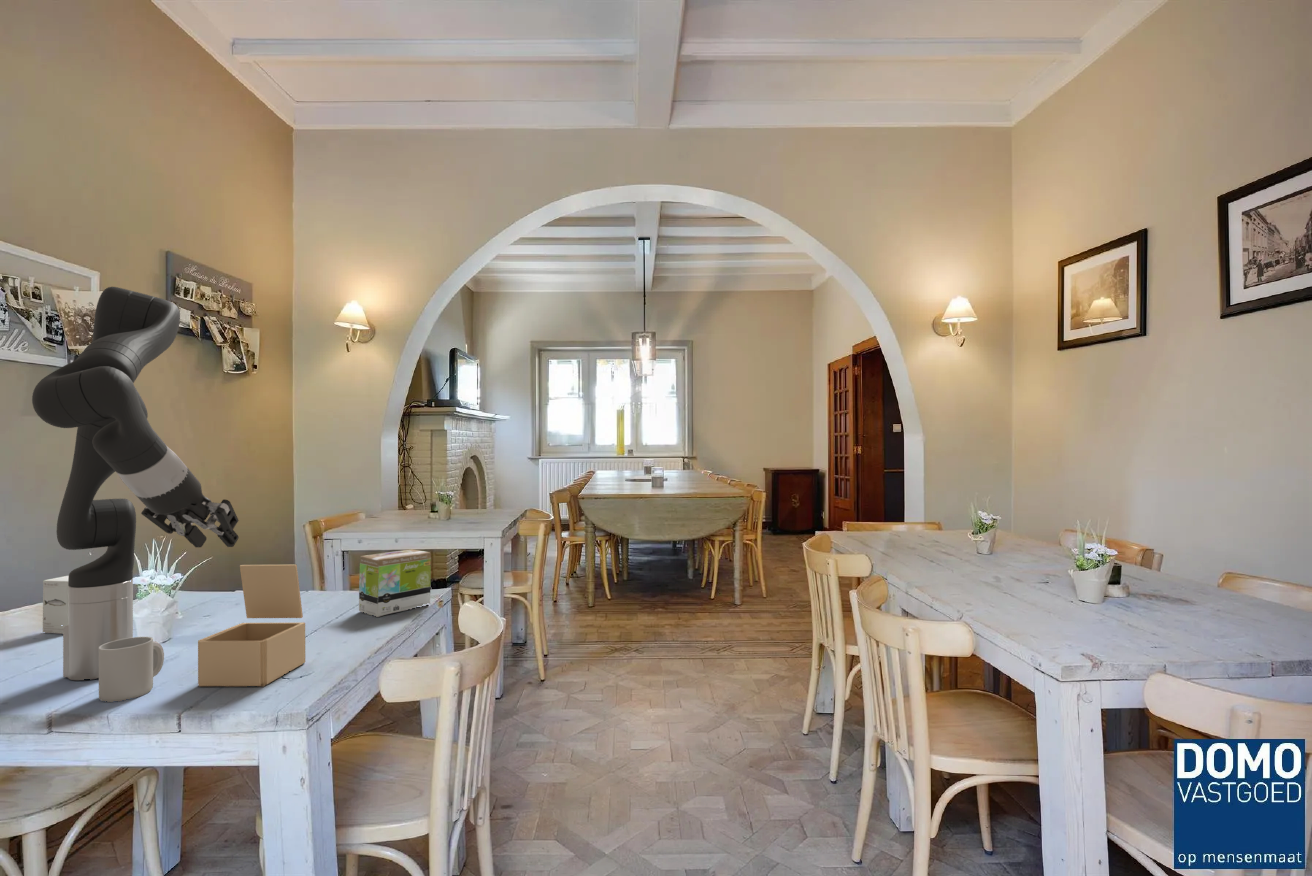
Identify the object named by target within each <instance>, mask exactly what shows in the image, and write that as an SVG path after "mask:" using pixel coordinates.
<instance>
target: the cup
mask: <svg viewBox="0 0 1312 876" xmlns="http://www.w3.org/2000/svg"><path fill="white" fill-rule="evenodd" d="M164 662H165V651H164V648H163V646H162V644H161V643H159V642H157V641H155V640H154V638H153V637H151V636H133V638H126V639H121V640H116V641H112V642H109V643H106V644H103V645H101V646H100V647H99V678H98V699H99V700H100V701H101V702H103V701H105V702H104V703H114V702H113V701H118V702H123V701H122V700H124V701H127V700H126V699H129V700H131V699H130V698H133V699H135V698H139V697H142V696H144V695H146V694H149V692H151V690H153V688H154V677H156V676H157V675H158V674H159V673H160V672H161V671H162V668H163V666H164ZM106 701H107V702H106Z"/></svg>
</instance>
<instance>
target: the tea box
mask: <svg viewBox="0 0 1312 876" xmlns="http://www.w3.org/2000/svg"><path fill="white" fill-rule="evenodd" d="M431 556H432V553H431V552H430V551H424V550H419V549H411V548H410V549H404V550H403V549H402V550H395V551H389V552H381V553H374V554H367V555H365V554H364V555H360V556H359V576H358V577H359V578H358V580H359V582H358V584H359V585H358V586H359V587H358V588H359V589H358V611H359V612H360V613H363V612H364V613H363V614H366V613H367V614H366V615H368V616H369V615H370V616H372V615H374V616H373V617H375V616H376V618H379V617H383V616H387V615H390V614H395V613H399V612H404V611H408V609H410V610H413V609H412V608H415V607H417V606H422V605H423V604H427V603H430V604H431V590H432V589H431V588H432V587H431V582H432V581H431V570H432V569H431V567H432V563H431V562H432V558H431ZM415 609H416V608H415Z"/></svg>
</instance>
